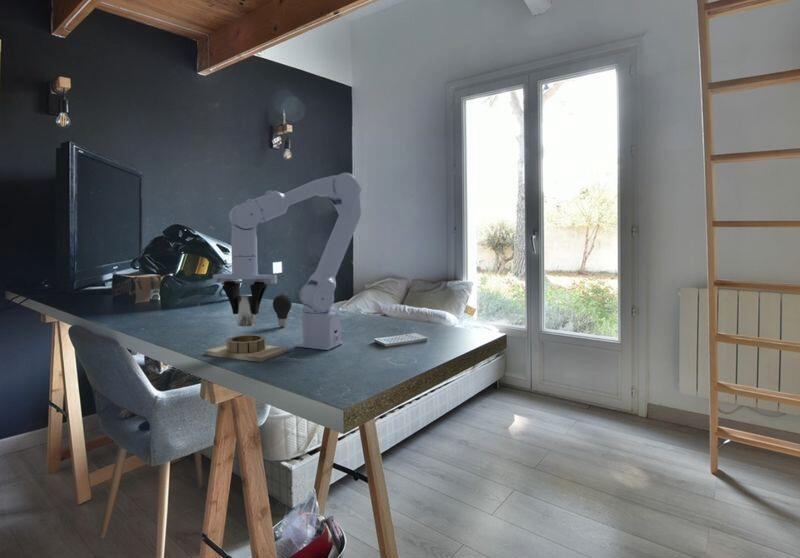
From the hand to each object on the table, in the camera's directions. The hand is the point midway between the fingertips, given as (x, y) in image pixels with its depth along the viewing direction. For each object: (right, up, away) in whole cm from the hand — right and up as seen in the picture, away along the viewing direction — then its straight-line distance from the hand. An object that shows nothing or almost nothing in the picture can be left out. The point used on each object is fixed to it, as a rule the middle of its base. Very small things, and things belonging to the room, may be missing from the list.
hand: (245, 313), depth 109 cm
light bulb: (+1, -7, +32) cm, 33 cm away
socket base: (0, -9, +1) cm, 9 cm away
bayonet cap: (0, -3, 0) cm, 3 cm away
